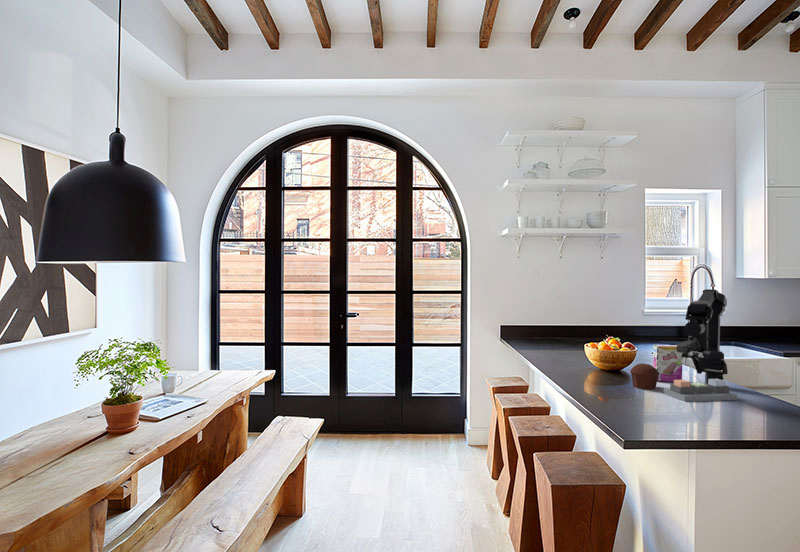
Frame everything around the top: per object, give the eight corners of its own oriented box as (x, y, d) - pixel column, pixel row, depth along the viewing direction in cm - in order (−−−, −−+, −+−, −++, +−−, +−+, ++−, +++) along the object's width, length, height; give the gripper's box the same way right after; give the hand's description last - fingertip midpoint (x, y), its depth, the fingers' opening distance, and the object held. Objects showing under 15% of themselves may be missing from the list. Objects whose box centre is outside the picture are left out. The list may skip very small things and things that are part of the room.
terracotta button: (673, 387, 186) (673, 379, 186) (683, 387, 187) (683, 379, 187) (680, 389, 182) (680, 382, 182) (690, 389, 183) (690, 381, 183)
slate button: (708, 386, 188) (708, 379, 188) (717, 386, 188) (717, 378, 188) (716, 388, 184) (716, 381, 184) (725, 388, 184) (725, 380, 184)
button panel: (663, 393, 190) (663, 382, 190) (713, 392, 192) (713, 381, 192) (684, 401, 178) (684, 389, 178) (737, 399, 180) (737, 388, 180)
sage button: (691, 390, 187) (691, 383, 187) (700, 390, 187) (700, 382, 187) (698, 393, 183) (698, 385, 183) (707, 392, 183) (707, 385, 184)
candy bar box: (657, 382, 211) (657, 346, 211) (652, 379, 216) (652, 344, 216) (683, 382, 210) (683, 346, 210) (677, 380, 215) (677, 344, 215)
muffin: (663, 391, 194) (663, 367, 194) (634, 389, 196) (634, 366, 196) (653, 384, 206) (653, 362, 206) (626, 383, 208) (626, 361, 208)
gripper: (664, 331, 194) (664, 369, 194) (698, 337, 175) (698, 379, 175) (689, 331, 195) (689, 368, 195) (725, 337, 176) (725, 378, 176)
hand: (699, 373), depth 185 cm, fingers closed
